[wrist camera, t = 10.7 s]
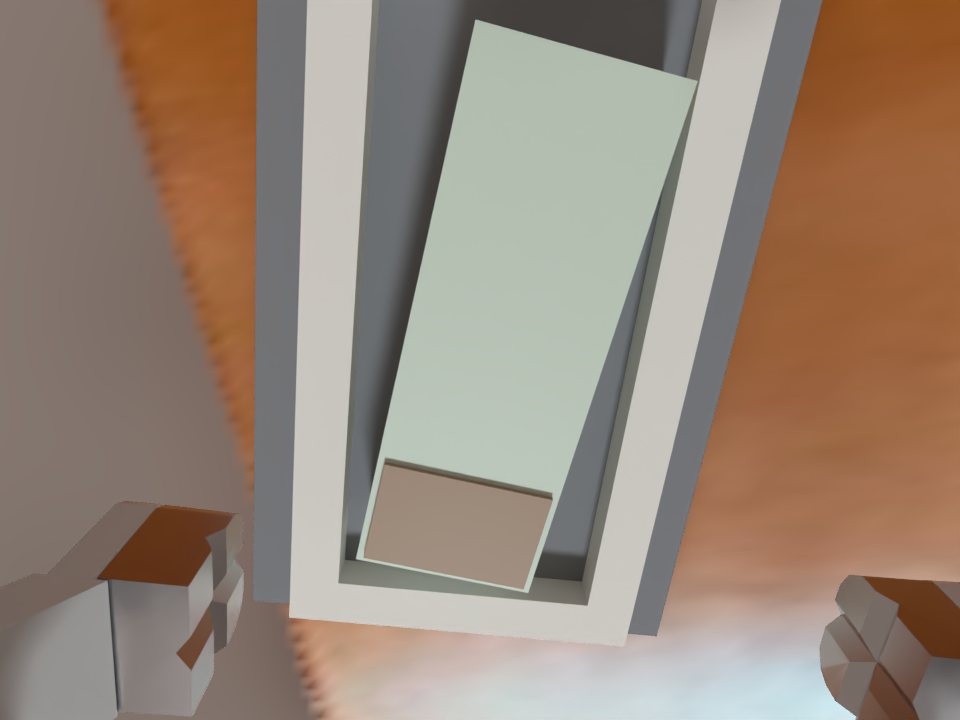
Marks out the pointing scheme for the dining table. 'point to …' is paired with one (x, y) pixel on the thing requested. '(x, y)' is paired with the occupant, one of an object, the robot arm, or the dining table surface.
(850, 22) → the dining table surface
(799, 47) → the picture frame
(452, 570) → the pale green rectangular block
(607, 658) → the dining table surface
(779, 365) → the dining table surface
